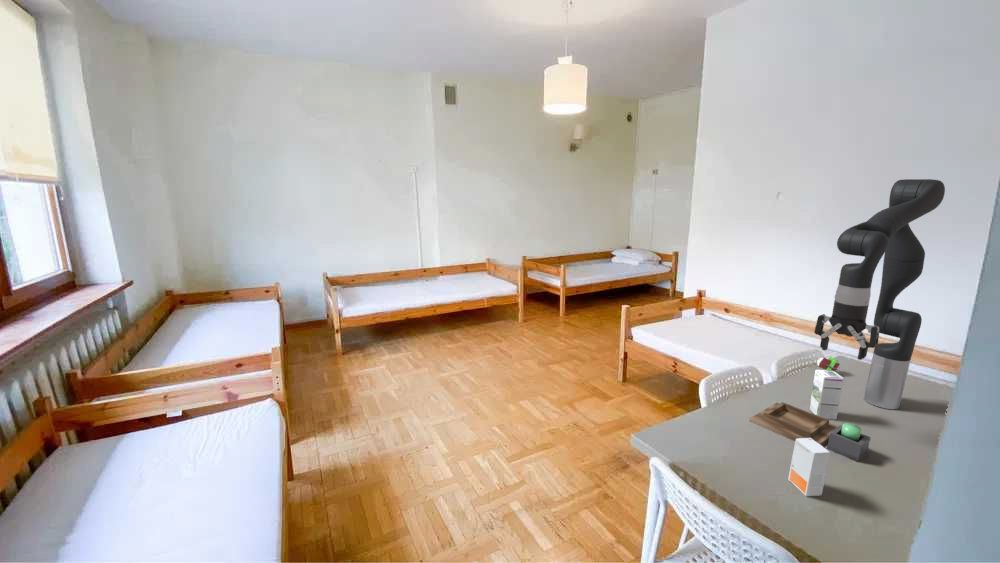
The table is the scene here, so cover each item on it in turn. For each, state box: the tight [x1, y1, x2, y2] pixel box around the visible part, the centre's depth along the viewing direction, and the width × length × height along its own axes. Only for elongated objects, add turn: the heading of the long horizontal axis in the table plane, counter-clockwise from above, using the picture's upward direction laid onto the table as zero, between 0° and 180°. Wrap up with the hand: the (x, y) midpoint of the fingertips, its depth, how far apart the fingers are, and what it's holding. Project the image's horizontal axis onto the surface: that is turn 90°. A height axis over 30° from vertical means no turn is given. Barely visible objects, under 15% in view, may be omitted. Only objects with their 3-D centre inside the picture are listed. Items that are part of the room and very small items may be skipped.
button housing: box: [826, 425, 872, 463], centre depth 118 cm, size 7×7×5 cm
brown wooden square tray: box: [749, 402, 840, 446], centre depth 131 cm, size 18×18×3 cm
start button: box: [841, 422, 862, 441], centre depth 117 cm, size 4×4×3 cm
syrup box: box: [808, 369, 845, 421], centre depth 136 cm, size 6×6×14 cm
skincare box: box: [787, 438, 831, 497], centre depth 102 cm, size 6×4×12 cm
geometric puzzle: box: [816, 355, 841, 372], centre depth 167 cm, size 7×7×8 cm
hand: (841, 354), depth 123 cm, fingers open, 8 cm apart
